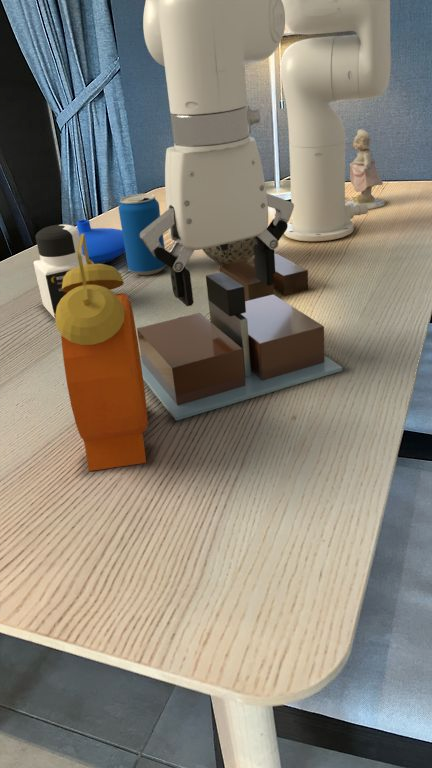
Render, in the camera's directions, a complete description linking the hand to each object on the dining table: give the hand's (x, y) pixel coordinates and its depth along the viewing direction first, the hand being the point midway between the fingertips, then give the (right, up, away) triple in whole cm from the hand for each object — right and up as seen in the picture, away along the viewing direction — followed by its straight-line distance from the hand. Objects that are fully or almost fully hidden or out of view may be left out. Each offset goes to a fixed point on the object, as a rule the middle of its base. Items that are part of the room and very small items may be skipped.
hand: (225, 291), depth 74 cm
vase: (-24, +12, +46) cm, 53 cm away
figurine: (+28, +27, +63) cm, 74 cm away
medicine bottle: (-23, +1, +26) cm, 34 cm away
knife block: (+6, +4, +26) cm, 27 cm away
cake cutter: (+1, -8, +4) cm, 9 cm away
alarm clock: (-11, -16, -7) cm, 21 cm away
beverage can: (-12, +9, +38) cm, 41 cm away
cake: (+1, -8, +4) cm, 9 cm away
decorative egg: (+2, +10, +37) cm, 38 cm away
